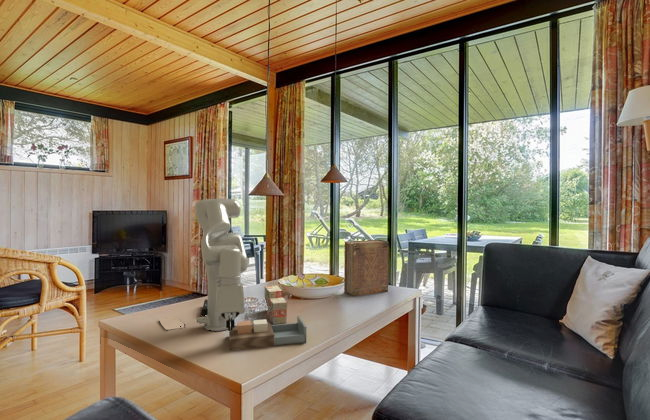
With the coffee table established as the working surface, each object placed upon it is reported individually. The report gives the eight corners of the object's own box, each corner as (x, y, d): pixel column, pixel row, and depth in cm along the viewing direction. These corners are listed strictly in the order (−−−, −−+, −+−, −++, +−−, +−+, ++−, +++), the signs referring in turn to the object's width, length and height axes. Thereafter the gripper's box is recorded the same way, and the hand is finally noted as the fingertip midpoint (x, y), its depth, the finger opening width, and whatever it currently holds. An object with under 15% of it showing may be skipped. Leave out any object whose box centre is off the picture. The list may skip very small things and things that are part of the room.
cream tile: (254, 332, 134) (254, 324, 134) (253, 328, 139) (253, 320, 139) (267, 331, 135) (267, 323, 135) (266, 326, 140) (266, 319, 140)
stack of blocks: (287, 323, 157) (287, 295, 156) (272, 324, 155) (272, 296, 154) (277, 309, 177) (277, 284, 177) (264, 310, 175) (264, 285, 175)
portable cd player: (203, 307, 181) (203, 299, 181) (238, 305, 185) (238, 297, 185) (201, 317, 165) (201, 309, 165) (239, 314, 170) (238, 306, 170)
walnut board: (229, 350, 127) (229, 339, 127) (229, 336, 141) (229, 326, 141) (274, 345, 131) (274, 335, 131) (270, 332, 145) (270, 322, 145)
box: (274, 345, 131) (274, 329, 131) (270, 332, 145) (270, 317, 145) (306, 342, 134) (306, 326, 134) (299, 329, 148) (299, 315, 148)
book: (352, 296, 201) (352, 243, 200) (344, 293, 209) (344, 241, 209) (388, 291, 213) (388, 241, 213) (378, 288, 221) (379, 239, 221)
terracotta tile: (237, 334, 132) (237, 325, 132) (237, 329, 137) (237, 321, 137) (251, 332, 133) (251, 324, 133) (250, 328, 138) (250, 320, 138)
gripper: (208, 284, 128) (208, 335, 128) (251, 281, 132) (251, 331, 132) (209, 279, 135) (210, 328, 136) (250, 277, 139) (250, 324, 139)
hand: (230, 329), depth 134 cm, fingers closed
